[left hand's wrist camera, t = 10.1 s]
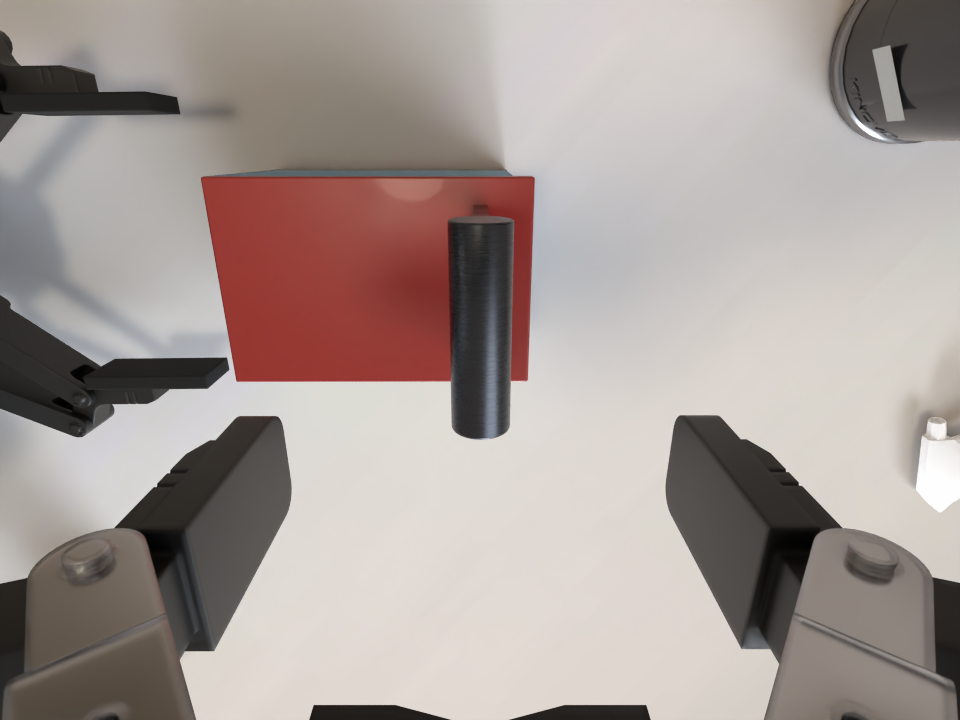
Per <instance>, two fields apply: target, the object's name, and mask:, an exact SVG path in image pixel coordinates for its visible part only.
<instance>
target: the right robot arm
mask: <svg viewBox="0 0 960 720" xmlns="http://www.w3.org/2000/svg"><path fill="white" fill-rule="evenodd" d="M12 49H13V48H12V42H11V41H10V39H9V37H8V36H7V35H6V34H5V33H4V32H2V31H0V142H1V141H2V139H3V138H4V137H5V136H6V134H7V133H8V132H9V130H10V129H11V128H12V126H13V125H14V124H15V123H16V121H17V120H18V119H19V117H20V116H21V115H22V114H33V115H45V116H76V115H154V114H180V110H179V105H178V100H177V97H172V96H167V95H161V94H156V93H150V92H98V88H97V84H96V79H95V75H94V74H92V73H89V72H87V71H84V70H81V69H76V68H71V67H66V66H61V65H60V66H20V65H19V64H18V63H17V62H16V60H15V59H14V57H13V56H12ZM10 305H11V304H10V302H9V301H8V300H7V299H5V298H4V297H2V296H0V409H3V410H6V411H8V412H11V413H14V414H16V415H19V416H22V417H24V418H27V419H30V420H32V421H35V422H37V423H40V424H43V425H45V426H48V427H51V428H53V429H56V430H59V431H61V432H64V433H67V434H69V435H72V436H75V437H83V436H85V435H86V434H87V433H89V432H90V431H92V430H93V429H95V428H96V427H97V426H99V425H100V424H101V423H103V422H104V421H106V420H107V419H108V418H110V417H111V416H113V414H114V407H113V405H112V404H137V403H138V404H148V403H150V402H153V401H155V400H157V399H158V398H159V397H161V396H162V395H163V394H164V393H166V392H167V391H168V390H169V389H208V388H209V387H210V386H211V385H212V384H213V383H215V382H216V381H217V380H218V379H219V378H220V377H221V376H223V375H224V374H225V373H226V372H227V371H228V370H229V366H228V360H227V358H152V359H114V360H112V361H110V362H109V363H107V364H105V365H103V366H102V367H101V366H99V365H98V364H96V363H95V362H93V361H92V360H90V359H88V358H87V357H85V356H84V355H82V354H81V353H79V352H77V351H76V350H74V349H73V348H71V347H70V346H68V345H66V344H65V343H63V342H62V341H60V340H59V339H57V338H55V337H54V336H52V335H51V334H49V333H48V332H46V331H44V330H43V329H41V328H40V327H38V326H37V325H35V324H33V323H32V322H30V321H29V320H27V319H26V318H24V317H22V316H21V315H19V314H18V313H16V312H15V311H13V310H12V309H11V308H10Z"/></svg>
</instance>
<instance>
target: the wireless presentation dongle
mask: <svg viewBox="0 0 960 720" xmlns="http://www.w3.org/2000/svg"><path fill="white" fill-rule="evenodd" d="M916 490H917V491H918V492H919V494H920V495H921V496H922V497H923V498H924V499H925V501H926V502H927V503H929V504H930V505H931V506H932V507H934V508H935V509H936V510H937V511H939V512H942V511H943V510H944V509H945V508H946V507H948V506H949V505H950V504H951V503H952V502H954V501H956V500H958V499H960V435H957V436H953V437H950V436H948V435H947V420H945V419H943V418H941V417H931V418H929V419H928V423H927V431H926V434H924V435H922V440H921V449H920V458H919V467H918V476H917V485H916Z"/></svg>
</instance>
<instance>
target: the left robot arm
mask: <svg viewBox="0 0 960 720" xmlns="http://www.w3.org/2000/svg"><path fill="white" fill-rule="evenodd" d="M830 84H831V91H832V95H833V99H834V102H835V105H836V107H837V109H838V111H839V113H840V115H841V116H842V118H843V119H844V121H845V122H846V123H847V124H848V125H849V126H850V127H851V128H852V129H853V130H854V131H856V132H857V133H858V134H860V135H862V136H864V137H865V138H868V139H870V140H873V141H877V142H881V143H891V144H902V143H917V142H923V141H960V0H856V1H855V3H854V4H853V6H852V7H851V9H850V10H849V12H848V14H847V15H846V17H845V19H844V21H843V23H842V25H841V27H840V30H839V32H838V35H837V37H836V41H835V44H834V47H833V52H832V57H831V64H830ZM666 499H667V504H668V508H669V511H670V513H671V516H672V517H673V519H674V521H675V523H676V525H677V527H678V529H679V531H680V533H681V535H682V536H683V538H684V540H685V542H686V544H687V546H688V548H689V550H690V552H691V554H692V555H693V557H694V559H695V561H696V563H697V565H698V567H699V569H700V571H701V573H702V574H703V576H704V578H705V580H706V582H707V584H708V586H709V588H710V590H711V592H712V593H713V595H714V597H715V599H716V601H717V603H718V605H719V607H720V609H721V611H722V612H723V614H724V616H725V618H726V620H727V622H728V624H729V626H730V628H731V630H732V631H733V633H734V635H735V637H736V639H737V641H738V643H739V645H740V647H741V649H771V651H772V652H773V654H774V656H775V657H776V659H777V661H778V663H779V667H778V671H777V674H776V678H775V682H774V685H773V689H772V692H771V696H770V700H769V703H768V707H767V711H766V714H765V718H764V720H960V583H957V582H952V581H948V580H943V579H938V578H933V577H932V576H931V574H930V572H929V570H928V569H927V567H926V566H925V565H924V564H923V563H922V562H921V561H920V560H919V559H918V558H917V557H915V556H914V555H913V554H912V553H910V552H909V551H907V550H906V549H904V548H903V547H901V546H899V545H897V544H895V543H894V542H891V541H889V540H887V539H885V538H882V537H880V536H877V535H874V534H871V533H868V532H864V531H859V530H855V529H847V528H842V527H841V526H840V525H839V524H838V523H837V522H836V521H835V520H834V519H833V518H832V517H831V516H830V515H829V514H828V513H827V511H826V510H825V509H824V508H823V507H822V506H821V505H820V504H819V503H818V502H817V501H816V500H815V499H814V498H813V497H812V496H811V495H810V494H809V493H808V492H807V491H806V490H805V489H804V488H803V487H802V486H799V482H798V481H797V480H796V479H795V478H794V477H793V476H792V475H791V474H790V473H789V472H786V469H785V468H784V467H783V466H782V465H781V464H780V463H779V462H778V461H777V460H776V459H775V457H774V456H773V455H772V454H771V453H769V452H768V451H766V450H764V449H762V448H761V447H759V446H757V445H755V444H754V443H752V442H750V441H748V440H747V439H740V438H739V437H738V436H737V435H736V434H735V433H734V431H733V430H732V429H731V428H730V427H729V426H728V425H727V424H726V423H725V421H724V420H723V419H722V418H721V417H720V416H716V415H681V416H679V417H678V418H677V419H676V421H675V425H674V430H673V436H672V443H671V450H670V457H669V464H668V471H667V478H666ZM290 501H291V478H290V471H289V464H288V457H287V451H286V444H285V437H284V430H283V425H282V422H281V420H280V419H279V418H278V417H277V416H239V417H237V418H236V419H235V420H234V421H233V422H232V423H231V424H230V425H229V426H228V427H227V429H226V430H225V431H224V432H223V433H222V434H221V435H220V436H219V437H218V438H217V439H216V440H210V441H208V442H206V443H205V444H203V445H201V446H199V447H198V448H196V449H194V450H192V451H191V452H189V453H187V454H186V455H185V456H184V457H183V458H182V459H181V460H180V461H179V462H178V463H177V464H176V465H175V466H174V467H173V468H172V469H171V470H170V474H166V475H165V476H164V477H163V478H162V479H161V480H160V481H159V483H158V484H157V487H154V488H153V489H152V490H151V491H150V492H149V493H148V494H147V495H146V496H145V497H144V498H143V499H142V500H141V501H140V502H139V503H138V504H137V505H136V506H135V507H134V508H133V509H132V510H131V511H130V512H129V513H128V514H127V515H126V516H125V518H124V519H123V520H122V521H121V522H120V523H119V524H118V525H117V526H116V527H115V528H113V529H105V530H101V531H96V532H92V533H89V534H86V535H83V536H80V537H78V538H75V539H73V540H71V541H69V542H66V543H65V544H63V545H61V546H59V547H57V548H56V549H54V550H53V551H51V552H50V553H48V554H47V555H46V556H45V557H43V558H42V559H41V560H40V561H39V562H38V563H37V564H36V565H35V566H34V567H33V569H32V570H31V572H30V574H29V576H28V578H26V579H21V580H16V581H12V582H7V583H2V584H0V720H196V718H195V714H194V711H193V707H192V703H191V700H190V696H189V692H188V689H187V685H186V682H185V678H184V674H183V671H182V667H181V664H180V658H181V657H182V655H183V653H184V652H185V651H214V650H215V648H216V646H217V644H218V643H219V641H220V639H221V637H222V635H223V633H224V631H225V629H226V628H227V626H228V624H229V622H230V620H231V618H232V616H233V614H234V613H235V611H236V609H237V607H238V605H239V603H240V601H241V599H242V598H243V596H244V594H245V592H246V590H247V588H248V586H249V584H250V582H251V581H252V579H253V577H254V575H255V573H256V571H257V569H258V567H259V566H260V564H261V562H262V560H263V558H264V556H265V554H266V552H267V551H268V549H269V547H270V545H271V543H272V541H273V539H274V537H275V536H276V534H277V532H278V530H279V528H280V526H281V524H282V522H283V521H284V519H285V517H286V515H287V512H288V510H289V506H290ZM310 720H449V719H445V718H442V717H438V716H434V715H430V714H427V713H423V712H419V711H415V710H412V709H408V708H404V707H400V706H397V705H314V706H313V710H312V713H311V716H310ZM511 720H650V716H649V713H648V710H647V706H646V705H563V706H560V707H556V708H552V709H548V710H545V711H541V712H537V713H533V714H530V715H526V716H522V717H518V718H515V719H511Z"/></svg>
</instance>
